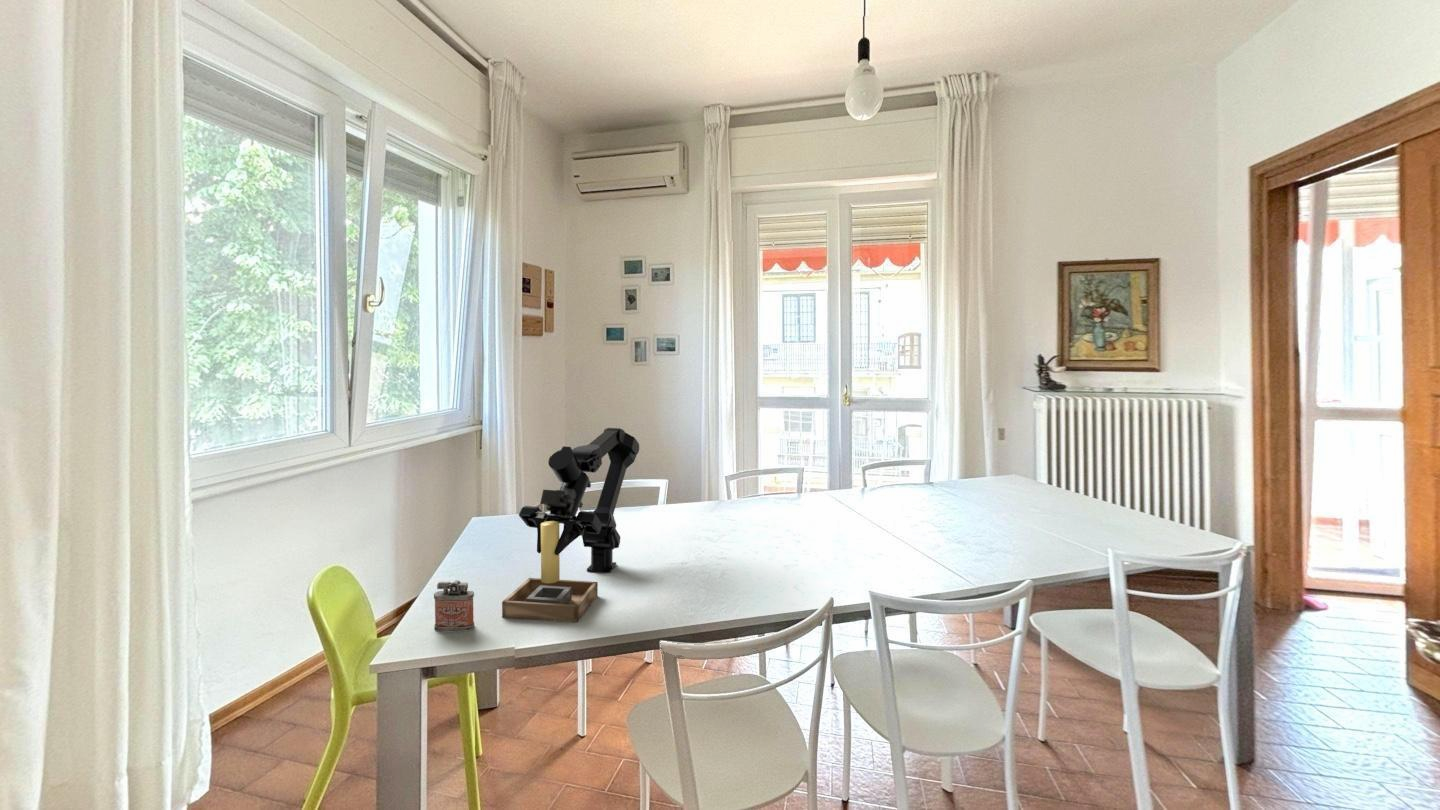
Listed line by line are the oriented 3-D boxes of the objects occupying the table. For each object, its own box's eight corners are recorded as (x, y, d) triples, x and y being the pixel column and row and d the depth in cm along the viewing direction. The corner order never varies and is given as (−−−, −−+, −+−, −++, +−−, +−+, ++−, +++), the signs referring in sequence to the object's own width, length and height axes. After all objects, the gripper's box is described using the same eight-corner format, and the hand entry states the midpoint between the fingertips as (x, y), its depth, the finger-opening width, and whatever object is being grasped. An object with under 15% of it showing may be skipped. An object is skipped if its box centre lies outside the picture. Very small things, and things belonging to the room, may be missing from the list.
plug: (553, 575, 134) (553, 520, 133) (562, 580, 131) (562, 523, 130) (537, 579, 131) (537, 523, 130) (546, 584, 128) (546, 527, 127)
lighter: (477, 624, 124) (476, 578, 123) (470, 631, 120) (470, 584, 119) (438, 624, 123) (437, 578, 123) (431, 631, 120) (430, 584, 119)
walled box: (529, 591, 141) (529, 576, 141) (597, 596, 139) (597, 580, 139) (502, 617, 127) (502, 600, 127) (577, 622, 125) (577, 605, 125)
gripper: (522, 471, 135) (494, 532, 125) (596, 477, 131) (572, 540, 121) (541, 497, 143) (515, 555, 134) (611, 503, 139) (589, 564, 129)
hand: (547, 553), depth 129 cm, fingers closed on plug, 4 cm apart
